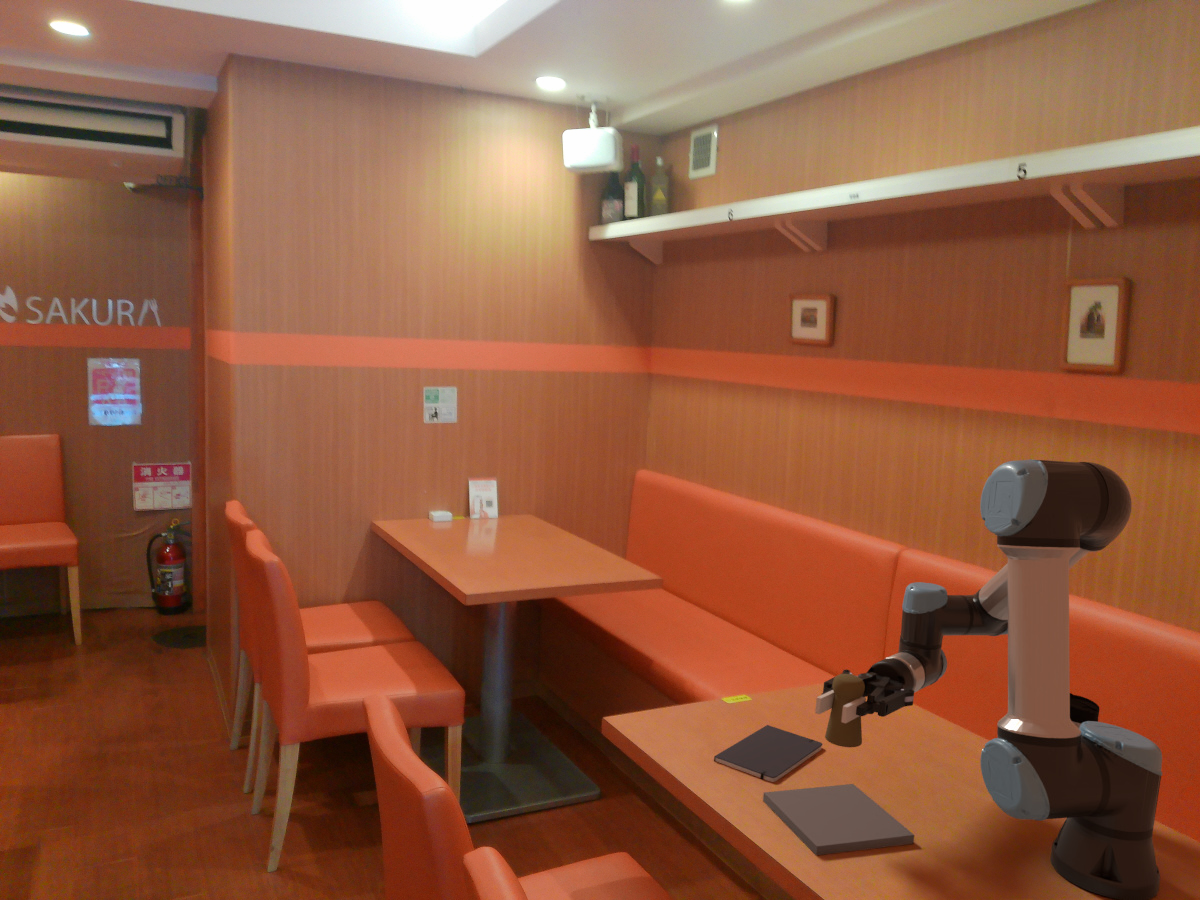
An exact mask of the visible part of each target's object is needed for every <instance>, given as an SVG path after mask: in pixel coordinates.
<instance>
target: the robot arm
mask: <svg viewBox="0 0 1200 900" xmlns="http://www.w3.org/2000/svg"><path fill="white" fill-rule="evenodd" d="M1131 497H1132V496H1131V493H1130V490H1129V488H1128V486H1127V484H1126V483H1125V481H1124V480H1123V478H1121V476H1120V475H1119V474H1118V473H1116V472H1115V471H1114V470H1112V469H1111V468H1109V467H1107V466H1105V465H1102V464H1099V463H1095V462H1091V461H1079V462H1078V461H1062V460H1045V459H1032V458H1030V459H1020V460H1017V459H1016V460H1010V461H1006V462H1003V463H1001V464H1000V465H998V466H997V467H996V468H994V470H993V471H992V473H991V474H990V475H989V476H988V477H987V480H986V481H985V483H984V486H983V489H982V491H981V495H980V503H979V504H980V505H979V506H980V516H981V519H982V520H983V522H984V527H985V528H986V529H987V530H988V531H989V532H990V533H992V534H994V535H995V536H996V545H997V548H998V549H999V550H1001V552H1003V554H1005V555H1006V558H1007V563H1006V564H1005V565H1003V567H1002V568H1000V570H998V571H997V573H995V575H993V576H992V577H991V579H989V580H988V581H987V582H986V583H985V584H984V585H983V586H982V587H981V588H980V589H978V591H976V592H975V593H974V594H948V591H947V589H946V588H945V587H944V586H942V585H939V584H937V583H931V582H923V581H919V582H910V583H909V584H908V585H907V586H906V587H905V591H904V596H903V601H902V607H901V608H902V612H901V613H902V614H901V627H900V635H899V641H898V642H899V643H898V651H897V653H894V654H892V655H890V656H887V657H885V658H883V659H882V660H880V661H877V662H875V663H873V664H872V665H871V666H870V667H869V669H868V670H867V671H866V672H865V673H859V674H858V675H857V676H858V677H859V678H861V679H862V680H863V682H864V685H865V690H864V693H863V696H862V697H861V698H859V699H856V700H854V701H852V702H850V703H848V704H846V705H844V706H843V710H842V720H841V722H842V723H845V724H846V723H848V722H849V721H851V720H853V719H855V718H857V717H859V716H861V717H865V716H867V715H873V714H875V713H876V714H877V716H879V717H886V716H888V715H890V714H892V713H895V712H897V711H899V710H900V709H902V708H904V707H910V706H913V705H914V699H915V693H916V692H919V691H921V690H922V689H924V688H926V687H928V686H931V685H933V684H935V683H936V682H938V681H939V679H941V678H942V677H943V676H944V675H945V673H946V672H947V668H948V659H947V656H946V654H945V652H944V650H943V649H942V645H943V639H944V637H945V636H990V637H998V636H1003V635H1004V636H1005V635H1007V695H1008V696H1007V713H1006V714H1005V715H1004V716H1003V717H1002V718H1000V719H999V720H998V721H997V731H996V732H997V734H996V735H997V737H995V738H992V739H990V740H988V741H987V742H986V743H985V744H984V747H983V748H982V750H981V753H980V771H981V775H982V779H983V782H984V785H985V788H986V790H987V792H988V793H989V795H990V796H991V798H992V801H993V802H994V803H995V805H997V807H998V808H999V809H1000V810H1001V811H1002V812H1003V813H1005V814H1007V815H1008V816H1009V817H1011V818H1014V819H1017V820H1034V821H1038V822H1041V821H1046V820H1050V819H1051V820H1053V819H1055V820H1057V819H1065V820H1064V823H1062V826H1061V828H1060V829H1059V831H1058V834H1057V836H1056V838H1055V839H1054V841H1053V842H1052V845H1051V853H1050V858H1049V859H1050V863H1051V865H1052V867H1053V868H1054V870H1055V871H1057V873H1058V874H1059V875H1060V876H1062V877H1063V878H1064V879H1066V880H1067V881H1069V882H1070V883H1072V884H1074V885H1075V886H1078V887H1080V888H1081V889H1082V890H1083V889H1084V890H1086V891H1089V892H1091V893H1094V894H1097V895H1100V896H1103V897H1107V898H1111V899H1115V900H1150V899H1152V898H1154V897H1156V896H1157V894H1158V893H1159V890H1160V881H1161V873H1160V872H1161V871H1160V870H1159V867H1158V866H1157V860H1156V852H1155V847H1154V842H1153V834H1154V833H1153V832H1154V827H1155V820H1156V814H1157V807H1158V799H1159V792H1160V789H1161V787H1160V785H1161V780H1162V776H1163V771H1162V766H1163V765H1162V764H1163V753H1162V750H1161V748H1160V747H1159V746H1158V745H1157V744H1156V743H1155V742H1154V741H1152V740H1150V739H1149V738H1147V737H1145V736H1144V735H1142V734H1140V733H1137V732H1135V731H1133V730H1130V729H1127V728H1124V727H1121V726H1118V725H1115V724H1110V723H1107V722H1101V721H1098V722H1096V721H1086V722H1083V723H1082V724H1081V725H1080V728H1078V727H1077V726H1076V725H1075V724H1074V723H1073V722H1072V721H1071V719H1070V693H1071V689H1070V686H1071V685H1070V677H1071V676H1070V673H1071V672H1070V569H1072V567H1074V566H1075V565H1076V564H1077V563H1078V562H1079V561H1080V560H1082V559H1083V558H1085V556H1086V555H1088V554H1089V553H1096V552H1099V551H1102V550H1104V549H1105V548H1106V547H1107V546H1109V545H1110V544H1111V543H1112V542H1114V541H1115V539H1117V538H1118V537H1119V535H1120V534H1121V533H1122V532H1123V531H1124V530H1125V528H1126V526H1127V524H1128V522H1129V520H1130V516H1131V514H1132V503H1133V502H1132V498H1131ZM840 674H851V675H853V673H852V672H851V670H850V669H843V671H842V672H841V673H840ZM835 677H836V676H834V677H832V678H830V679H828V680H825V681H824V682H823V689H822V693H821V694H820V695H818V696H817V697H816V701H815V710H814V711H815V714H818V715H821V714H823V713H825V712H827V711H829V710H831V709H832V705H833V701H834V697H835V693H834V691H833V687H832V685H833V681H834V678H835Z"/></svg>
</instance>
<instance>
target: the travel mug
mask: <svg viewBox="0 0 1200 900" xmlns="http://www.w3.org/2000/svg"><path fill="white" fill-rule="evenodd" d="M1100 708H1101V707H1100V706H1099V705H1098V703H1096V702H1094V701H1093V700H1092V699H1089V698H1087V697H1084V696H1081V695H1077V694H1073V693H1071V692H1070V719H1071V721H1072V722H1073V723H1074V724H1075V725H1076V726H1077V727H1078V728H1080V725H1081V724H1082V723H1083V722H1086V721H1096V722H1099V717H1100Z"/></svg>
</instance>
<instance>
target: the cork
mask: <svg viewBox="0 0 1200 900" xmlns="http://www.w3.org/2000/svg"><path fill="white" fill-rule="evenodd" d="M834 677H835V678H834ZM834 677H833V678H834V681H833V685H832V687H833V691H834V693H835V697H834V701H833V705H832V708H831V709H830V714H829V718H828V723H827V727H826V731H825V735H824V738H825V741H827V742H828V743H830V744H832V745H835V746H837V747H838V746H839V747H842V748H857V747H859V746H861V745H862V743H863V735H862V734H863V733H862V716H859V717H857V718H855V719H853V720H851V721H849V722H848V723H846V724H845V723H842V722H841V720H842V710H843V706H844V705H846V704H848V703H850V702H852V701H854V700H856V699H859V698H861V697H862V696H863V693H864V690H865V685H864V682H863V680H862V679H861V678H859V677H858V675H854V674H852V675H851V674H841V673H839V674H837V675H836V676H834Z"/></svg>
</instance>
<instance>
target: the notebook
mask: <svg viewBox="0 0 1200 900" xmlns="http://www.w3.org/2000/svg"><path fill="white" fill-rule="evenodd" d="M822 747H823V743H822V742H821V741H818V740H815V739H811V738H808V737H806V736H802V735H799V734H797V733H793V732H791V731H786V730H784V729H781V728H777V727H776V726H775V727H774V726H772V725H769V724H767V725H765V726H763V727H761V728H759V729H758V730H756V731H754V732H753V733H751V734H750V735H748V736H746V737H744V738H743V739H741V740H739V741H738V742H736V743H735V744H733V745H731V746H729V747H727V748H726V749H723V750H722V751H721V752H718V753H717V754H716V755H714V757H713V762H717V763H720V764H722V765H724V766H727V767H730V768H732V769H735V770H738V771H739V772H740V771H741V772H744V773H746V774H749V775H752V776H753V777H754V776H755V777H756V778H759V779H761V780H765V781H767V782H770V783H771V782H772V783H775V782H777V781H778V780H780V779H781V778H782V777H784V776H785V775H787V774H788V773H790V772H791V771H793V770H794V769H795V768H797V767H799V766H800V765H801V764H803V763H804V762H806V761H807V760H808V759H810V758H811V757H813V756H814V755H815V754H817V753H819V752H820V751H821V750H822Z"/></svg>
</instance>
